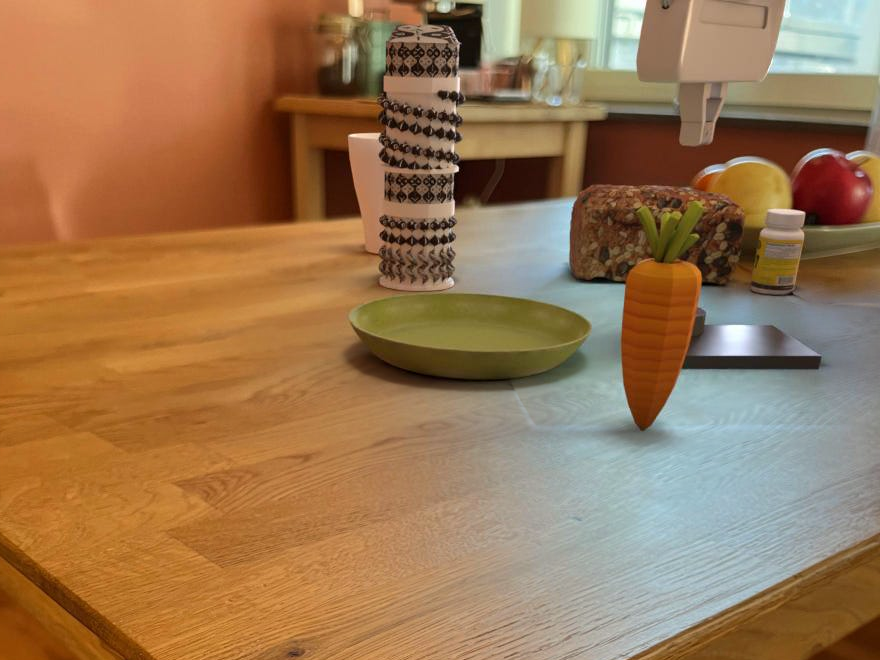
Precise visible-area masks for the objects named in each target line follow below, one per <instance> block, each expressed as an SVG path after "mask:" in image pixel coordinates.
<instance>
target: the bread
mask: <svg viewBox="0 0 880 660" xmlns="http://www.w3.org/2000/svg"><path fill="white" fill-rule="evenodd" d="M692 201H699V202H701V204H702V206H703V208H704V211H703V213H702V214H701V216H700V218H699V220H698V221H697V223H696V225H695V226H694V228H693V229H692V231H691V232H690V234H689V235H691V234H698V236H699V239H698V240H697V241H696V242H695V243H694V244H693V245H691V246H690V247H689V248H688V249H687V250H686V251H685V252H684V253H682V254H681V255H680V256H679V257H678V258H677V259H679V260H682V261H686V262H689V263H692V264H693V265H695V266H697V268H698V269H699V270H700V272H701V276H702V283H701V284H717V285H723V284H727V283H730V282H731V281H732V280H733V279H734V277H735V273H736V267H738V266H739V265H738V262H740V257H739V256H741V253H742V244H743V242H744V236H745V230H744V226H745V220H746V212H745V210H743V208H742V207H741V205H739V204H737V203H735V201H734V200H733V199H732V198H731V197H729V196H727V195H726V194H722V193H712V192H709V191H703V190H699V189H693V188H690V189H688V188H687V187H681V186H676V185H675V186H673V185H672V186H668V185H666V186H663V185H657V184H653V185H651V184H649V185H648V184H644V185H637V186H634V185H625V184H623V185H614V184H609V183H608V184H591V185H590V186H589V187H586V188H585V189H583V190H582V191H580V192H579V194H578V195H577V198H576V199H575V201H574V202H573V204H572V205H573V206H572V207H571V208H572V210H571V217H570V223H569V225H570V229H569V254H568V258H569V259H568V262H569V268H570V270H571V272H572V275H573V276H574V278H575V279H578V280H586V281H591V280H593V279H594V278H605V279H607V280H609V281H612V280H613V281H615V282H616V281H617V282H624V283H626V280H627V276H628V274H629V272H630V270H631V269H632V268H633V267H635V266H636V265H637V264H638V263H639V262H641V261H643V260H645V259H651V258H654V256H653V253H652V250H651V247H650V245H649V242H648V239H647V236H646V233H645V231H644V228H643V225H642V223H641V221H640V219H639V217H638V215H637V213H636V212H637V211H638V210H639V209H640V208H641V207H644V206H647V208H648V209H649V210H650V212H651V214H652V216H653V218H654V221H655V225H656V229H657V233H658V237H659V238H660V230H661V216H662V215H663V214H664V213H666V212H668V213H669V214H670V215H671V214H672V213H673V212H674V211H675V212H679V213H680V214H682V216H681V218H680V220H679V222H678V224H677V225H676V227H675V229H674V230H676V229H677V227H678V225H679V223H680V221H681V219H682V218H683V216H684V214H685V212H686V211H687V209H688V207H689V206H690V204H691V203H692Z"/></svg>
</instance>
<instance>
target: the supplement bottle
mask: <svg viewBox="0 0 880 660" xmlns="http://www.w3.org/2000/svg"><path fill="white" fill-rule="evenodd" d="M805 219H806V211H802V210H797V209H791V208H789V209H788V208H771V209H768V210H767V212H766V216H765V220H764V222H765V223H764V224H765V225H766V227H764V228H763V229H761V231H760V232H759V235H758V242H757V248H756V253H755V259H754V263H753V264H754V265H753V269H752V275H751V281H750V290H751V291H752V292H754V293H757V294H763V295H772V296H787V295H790V294H792V293H793V291H794V290H795V286H796V281H797V276H798V271H799V267H800V261H801V255H802V250H803V245H804V241H805V233H804V231H803V230H802V227H804V224H805Z"/></svg>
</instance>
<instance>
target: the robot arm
mask: <svg viewBox="0 0 880 660" xmlns="http://www.w3.org/2000/svg"><path fill="white" fill-rule="evenodd" d="M786 2H787V0H646V1H645V6H644V13H643V17H642V23H641V28H640V34H639V41H638V45H637V52H636V60H635V63H636V65H635V66H636V73H637V77H638V80H639V81H640V82H642V83H656V84H679V88H678V89H679V90H678V97H677V99H678V107H679V116H680V121H681V124H680V132H679V139H678V141H679V144H680V145H681V146H684V147H699V146H708V145H710V144H711V143H712V142H713V139H714V134H715V129H716V123H717V120H718V118H719V116H720V114H721V111H722V108H723V106H724V105H725V102H726V100H727V94H728V88H729V83H761V82H763V81H764V80H765V78H766V77H767V74H768V72H769V70H770V68H771V65H772V63H773V59H774V56H775V53H776V48H777V43H778V39H779V35H780V31H781V27H782V22H783V18H784V12H785V8H786Z"/></svg>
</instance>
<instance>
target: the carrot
mask: <svg viewBox="0 0 880 660" xmlns="http://www.w3.org/2000/svg"><path fill="white" fill-rule="evenodd" d="M703 211H704V208H703V206H702V204H701V202H699V201H692V203H691V204H690V206H689V207H688V209H687V211H686V212H685V214H684V216H683V218H682V219H681V221H680V223H679V225H678V227H677V229H676V230H674V229H675V227H676V225H677V224H678V222H679V220H680V218H681V216H682V214H680V213H679V212H675V211H674V212H673V213H672V214H671V215H670V214H669V213H668V212H666V213H664V214H663V215H662V216H661V230H660V238H659V237H658V233H657V229H656V225H655V221H654V218H653V216H652V214H651V212H650V210H649V209H648V208H647V206H644V207H641V208H640V209H639V210H638V211H637V212H636V213H637V215H638V217H639V219H640V221H641V223H642V225H643V228H644V231H645V233H646V236H647V239H648V242H649V245H650V247H651V250H652V253H653V256H654V258H651V259H645V260H643V261H641V262H639V263H638V264H637V265H636V266H635V267H633V268H632V269H631V270H630V272H629V274H628V276H627V280H626V282H625V288H624V296H623V297H624V298H623V308H622V320H621V321H622V322H621V335H620V349H621V350H620V351H621V352H620V353H621V370H622V371H621V373H622V383H623V384H622V385H623V389H624V393H625V397H626V402H627V405H628V408H629V412H630V413H631V416H632V419H633V422H634V424H635V425H636V426H637V427H638V429H639V430H640V431H642V432H643V431H646V430H647V429H649V428H650V427H651V426H652V425H653V424H654V422H655V420H656V419H657V417H658V416H659V414H660V413H661V411H662V410H663V409H664V407H665V405H666V404H667V402H668V400H669V399H670V397H671V395H672V393H673V390H674V388H675V387H676V384H677V382H678V378H679V375H680V373H681V370H682V369H681V368H682V365H683V362H684V359H685V356H686V353H687V350H688V347H689V344H690V339H691V335H692V330H693V326H694V321H695V316H696V311H697V307H699V300H700V295H701V289H702V284H703V283H702V276H701V272H700V270H699V269H698V268H697V266H695V265H693V264H692V263H689V262H686V261H682V260H679V259H677V258H678V257H679V256H680V255H681V254H682V253H684V252H685V251H686V250H687V249H688V248H689V247H690V246H691V245H693V244H694V243H695V242H696V241H697V240H698V239H699V236H698V234H691V235H689V234H690V232H691V231H692V229H693V228H694V226H695V225H696V223H697V221H698V220H699V218H700V216H701V214H702V213H703Z"/></svg>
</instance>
